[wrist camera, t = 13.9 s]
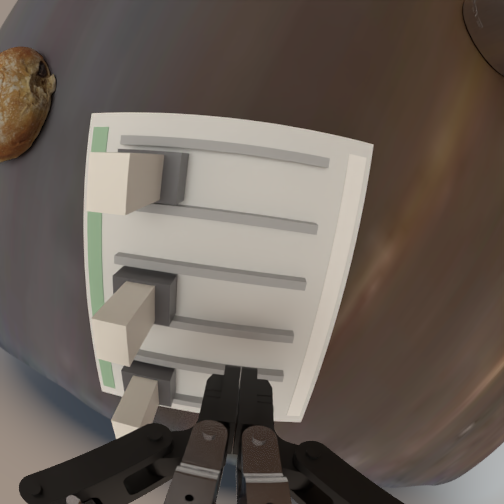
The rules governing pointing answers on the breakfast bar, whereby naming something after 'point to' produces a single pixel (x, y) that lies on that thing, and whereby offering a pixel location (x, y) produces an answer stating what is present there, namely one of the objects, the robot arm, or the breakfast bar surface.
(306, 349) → the panel
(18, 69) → the bread roll
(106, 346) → the breaker
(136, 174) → the breaker
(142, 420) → the breaker
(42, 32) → the breakfast bar surface
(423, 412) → the breakfast bar surface
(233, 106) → the breakfast bar surface
